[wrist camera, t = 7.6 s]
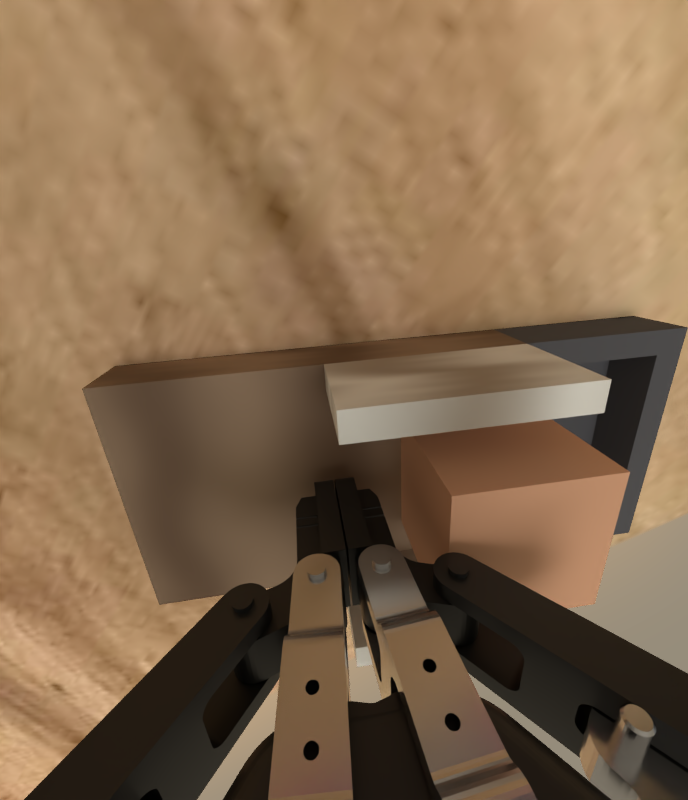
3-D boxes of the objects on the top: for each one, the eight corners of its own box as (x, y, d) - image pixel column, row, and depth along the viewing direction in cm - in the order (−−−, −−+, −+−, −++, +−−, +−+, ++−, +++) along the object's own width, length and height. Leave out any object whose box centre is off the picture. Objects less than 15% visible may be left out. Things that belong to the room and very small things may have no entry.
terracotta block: (401, 521, 16) (444, 629, 12) (400, 416, 14) (452, 496, 10) (511, 505, 17) (594, 603, 12) (525, 401, 15) (630, 472, 10)
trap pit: (477, 516, 20) (501, 551, 18) (493, 329, 16) (527, 343, 14) (591, 500, 21) (628, 532, 18) (633, 316, 17) (687, 327, 14)
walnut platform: (175, 560, 19) (121, 708, 13) (114, 366, 15) (-6, 449, 9) (477, 516, 20) (555, 632, 14) (493, 329, 16) (611, 379, 10)
